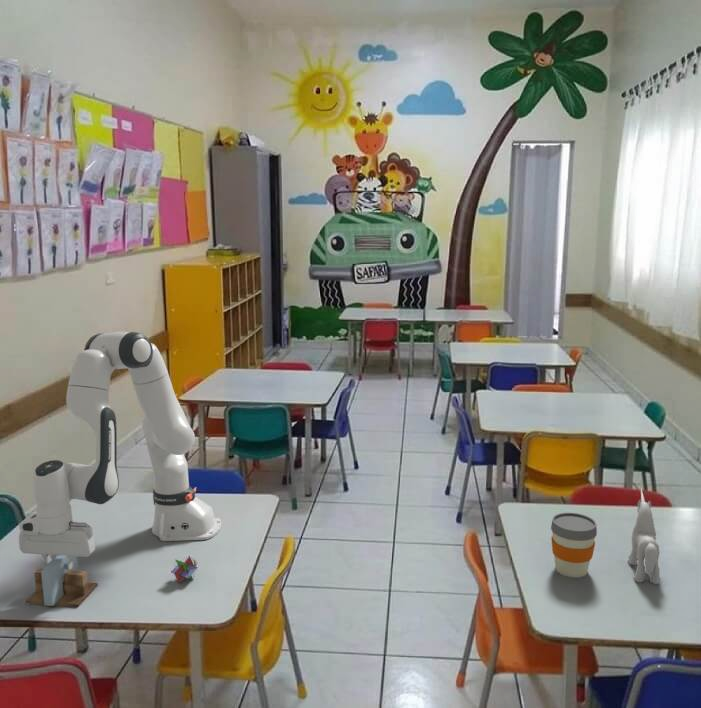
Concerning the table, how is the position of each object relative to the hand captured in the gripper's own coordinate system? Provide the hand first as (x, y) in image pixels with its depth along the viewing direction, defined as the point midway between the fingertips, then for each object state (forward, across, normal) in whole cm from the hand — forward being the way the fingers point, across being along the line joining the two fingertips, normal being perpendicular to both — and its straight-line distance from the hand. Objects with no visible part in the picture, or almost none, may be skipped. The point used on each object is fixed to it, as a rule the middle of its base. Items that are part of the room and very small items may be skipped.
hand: (59, 568), depth 193 cm
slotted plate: (+7, 0, 0) cm, 7 cm away
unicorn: (+8, -162, -32) cm, 165 cm away
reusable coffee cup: (+8, -141, -29) cm, 144 cm away
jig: (+8, 0, 0) cm, 8 cm away
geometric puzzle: (+8, -31, -11) cm, 34 cm away
